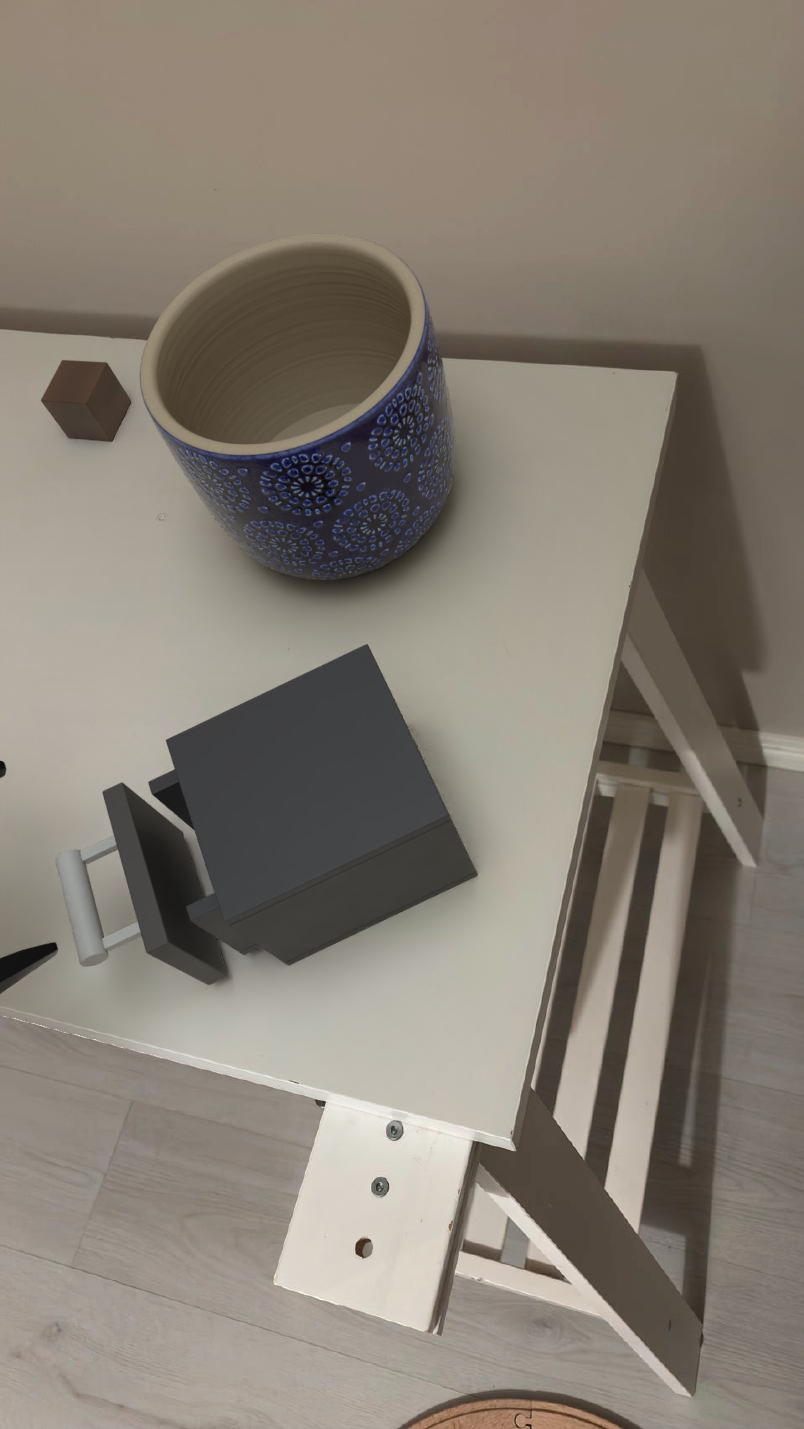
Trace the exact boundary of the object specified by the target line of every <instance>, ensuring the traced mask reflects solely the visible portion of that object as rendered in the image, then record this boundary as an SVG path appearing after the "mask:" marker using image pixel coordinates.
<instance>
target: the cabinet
mask: <svg viewBox="0 0 804 1429" xmlns="http://www.w3.org/2000/svg"><path fill="white" fill-rule="evenodd" d="M409 728H410V727H409V726H408V724H407V722H406V720H405V718H404V716H403V714H402V712H401V709H400V708H399V705H398V703H397V701H396V699H395V697H394V695H393V693H392V691H391V689H390V686H389V684H388V682H387V681H386V678H385V676H384V674H383V672H382V670H381V668H380V666H379V664H378V662H377V660H376V658H375V656H374V654H373V651H372V649H371V648H370V646H369V644H368V643H365V644H363V645H361V646H360V647H357V648H354V649H353V650H351V651H349V652H347V653H345V654H342V655H340V656H338V657H337V658H334V659H332V660H331V661H328V662H326V663H324V664H322V665H319V666H317V667H315V668H313V669H311V670H309V671H306V672H305V673H303V674H301V675H298V676H296V677H294V678H292V679H289V680H288V681H285V682H284V683H281V684H280V685H277V686H275V687H274V688H272V689H269V690H267V691H265V692H263V693H261V694H259V695H256V696H254V697H253V698H250V699H248V700H246V701H244V702H242V703H240V704H238V705H236V706H233V707H232V708H229V709H227V710H224V711H223V712H221V713H219V714H217V715H215V716H212V717H210V718H209V719H207V720H205V721H202V722H200V723H197V724H196V725H194V726H192V727H189V728H188V729H185V730H183V731H181V732H179V733H177V734H175V735H172V736H171V737H169V738H166V739H165V743H166V746H167V750H168V753H169V755H170V758H171V759H170V760H171V762H172V764H173V768H174V769H175V771H176V774H177V778H178V781H179V784H180V787H181V790H182V793H183V796H184V799H185V802H186V805H187V809H188V812H189V815H190V818H191V821H192V824H193V827H194V830H195V831H194V830H193V831H194V833H195V836H196V839H197V843H198V845H199V849H200V852H201V855H202V858H203V861H204V865H205V867H206V870H207V873H208V876H209V880H210V883H211V886H212V889H213V893H215V895H216V899H217V902H218V905H219V908H220V911H221V914H222V917H223V920H224V922H225V923H227V924H228V925H230V926H231V927H233V928H234V929H236V930H237V931H238V932H240V933H241V934H243V935H244V936H246V937H247V938H249V939H250V940H251V941H253V942H254V943H256V944H257V945H259V946H260V947H261V948H262V949H263V950H264V951H266V952H267V953H269V954H270V955H272V956H273V957H275V958H276V959H277V960H279V961H280V962H282V963H283V964H285V965H286V966H290V965H293V964H295V963H297V962H299V961H301V960H303V959H305V958H307V957H309V956H312V955H314V954H316V953H318V952H321V951H323V950H324V949H326V948H328V947H331V946H333V945H335V944H337V943H339V942H341V941H343V940H345V939H347V938H349V937H352V936H353V935H356V934H358V933H360V932H362V931H364V930H367V929H369V928H370V927H373V926H375V925H377V924H379V923H381V922H383V921H385V920H387V919H389V918H391V917H394V916H396V915H398V914H400V913H402V912H405V911H406V910H408V909H411V908H413V907H415V906H417V905H419V904H421V903H423V902H425V901H427V900H430V899H432V898H433V897H436V896H437V895H440V894H442V893H444V892H446V891H449V890H450V889H452V888H455V887H456V886H459V885H461V884H463V883H465V882H467V881H469V880H471V879H474V878H476V877H477V876H479V874H478V872H477V869H476V868H475V866H474V863H473V860H472V859H471V856H470V854H469V852H468V851H467V848H466V846H465V844H464V842H463V839H462V838H461V836H460V833H459V832H458V829H457V827H456V825H455V823H454V821H453V819H452V817H451V815H450V812H449V811H448V808H447V806H446V804H445V801H444V800H443V798H442V795H441V794H440V791H439V789H438V787H437V785H436V783H435V780H434V778H433V777H432V774H431V772H430V771H429V768H428V766H427V764H426V762H425V760H424V758H423V756H422V754H421V751H420V749H419V748H418V745H417V743H416V741H415V739H414V737H413V734H412V732H411V730H410V729H409Z"/></svg>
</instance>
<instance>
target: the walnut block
mask: <svg viewBox="0 0 804 1429" xmlns="http://www.w3.org/2000/svg"><path fill="white" fill-rule="evenodd" d="M40 402H41V403H42V405H43V406H44V407H45V408H46V410H47V411H48V413H49V415H51V417H52V418H53V420H54V421H55V422H56V423H57V425H58V426H59V427H60V429H61V430H62V431H63V433H64V434H65V436H66V437H67V438H70V439H80V440H81V439H83V440H94V441H105V442H106V441H107V442H112V441H113V440H114V437H115V435H116V434H117V432H118V429H119V428H120V426H121V424H122V421H123V420H124V417H125V416H126V414H127V411H128V409H129V407H130V405H131V403H132V400H131V398H130V396H129V395H128V393H127V392H126V390H125V388H124V387H123V385H122V383H121V382H120V380H119V379H118V377H117V376H116V374H115V372H114V370H113V369H112V367H111V366H110V365H109V363H108V362H106V361H90V360H89V361H88V360H70V359H62V360H61V361H60V363H59V364H58V366H57V369H56V370H55V372H54V374H53V376H52V378H51V380H50V381H49V383H48V386H47V387H46V388H45V391H44V393H43V395H42V397H41V398H40Z"/></svg>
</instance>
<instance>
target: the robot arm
mask: <svg viewBox="0 0 804 1429" xmlns="http://www.w3.org/2000/svg"><path fill="white" fill-rule="evenodd" d="M6 774H7V766H6V762H5V761H4V760H0V779H1V778H4V777H5V776H6ZM58 951H59V947H58V944H57V942H55V941H52V942H47V943H43V944H39V945H35V946H31V947H27V948H24V949H20V950H17V951H15V952H12V953H10V954H6V955H4V956H2V957H0V995H1V994H3V993H4V992H5V991H7V990H9V988H10V989H11V987H13V986H14V985H15V984H17V983H18V982H20V981H21V980H23V979H24V978H25V977H27V976H28V975H30V974H31V973H33V972H34V971H35V970H37V969H39V967H42V966H43V965H44V964H46V963H47V962H48V961H50V960H51V959H52V958H54V957H55V956H56V955H57V954H58Z"/></svg>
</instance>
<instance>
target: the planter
mask: <svg viewBox="0 0 804 1429" xmlns="http://www.w3.org/2000/svg"><path fill="white" fill-rule="evenodd" d="M141 355H142V356H141V360H140V366H139V387H140V393H141V397H142V400H143V404H144V406H145V408H146V410H147V412H148V414H149V417H150V418H151V420H152V422H153V424H154V426H155V428H156V430H157V432H158V433H159V435H160V437H161V439H162V440H163V442H164V443H165V445H166V448H168V450H169V452H170V453H171V455H172V457H173V458H174V459H175V461H176V464H177V465H178V467H179V468H180V470H181V471H182V473H183V474H184V477H185V478H186V479H187V481H188V482H189V484H190V485H191V487H192V488H193V489H194V491H195V493H196V494H197V496H198V497H199V498H200V500H201V502H202V503H203V505H204V506H205V507H206V509H207V510H208V512H209V513H210V514H211V515H212V517H213V518H214V520H215V521H216V522H217V524H218V525H219V526H220V527H221V528H222V529H223V531H224V532H225V533H226V534H227V535H228V536H229V538H230V539H231V540H232V541H233V543H235V545H236V546H238V547H239V548H240V549H241V550H242V551H243V552H244V553H245V554H247V555H248V556H250V557H251V558H252V559H253V560H255V561H256V562H258V563H259V564H261V565H263V566H264V567H266V568H269V569H270V570H272V571H275V572H278V573H280V574H285V575H288V576H291V577H294V578H300V579H304V580H314V581H315V580H316V581H331V580H342V579H349V578H353V577H359V576H361V575H364V574H368V573H370V572H373V571H376V570H378V569H380V568H382V567H384V566H386V565H387V564H390V563H391V562H393V561H395V560H396V559H398V558H399V557H401V556H402V555H404V554H405V553H406V552H407V551H409V550H410V549H411V548H412V547H414V546H415V544H416V543H418V542H419V541H420V540H421V538H423V537H424V535H425V534H426V533H427V532H428V531H429V530H430V528H431V527H432V526H433V524H434V523H435V522H436V520H437V519H438V517H439V515H440V513H441V511H442V509H443V508H444V505H445V503H446V502H447V499H448V497H449V494H450V492H451V488H452V486H453V481H454V476H455V468H456V459H457V458H456V457H457V446H456V445H457V444H456V436H455V435H456V434H455V423H454V416H453V409H452V402H451V397H450V391H449V388H448V382H447V378H446V377H447V376H446V372H445V366H444V363H443V357H442V354H441V349H440V346H439V341H438V337H437V332H436V329H435V325H434V321H433V317H432V313H431V310H430V307H429V305H428V301H427V298H426V295H425V291H424V289H423V286H422V284H421V282H420V280H419V279H418V277H417V275H416V274H415V272H414V271H413V269H412V268H411V267H410V266H409V265H408V263H406V262H405V260H403V259H402V258H401V257H400V256H398V255H397V254H396V253H394V252H393V251H391V250H390V249H388V248H386V247H384V246H382V245H380V244H378V243H376V242H373V241H371V240H368V239H364V238H362V237H358V236H357V237H356V236H353V235H348V234H340V233H330V232H329V233H328V232H327V233H323V232H320V233H315V232H314V233H301V234H295V235H289V236H283V237H280V238H275V239H272V240H268V241H265V242H261V243H259V244H255V245H253V246H250V247H247V248H245V249H242V250H240V251H238V252H237V253H235V254H232V255H230V256H229V257H227V258H224V259H223V260H221V261H219V262H218V263H216V264H215V265H213V266H211V267H210V268H208V269H206V270H205V271H204V272H202V273H201V274H200V275H198V276H197V277H196V278H194V279H193V280H192V281H191V282H190V283H189V284H188V285H187V286H185V287H184V288H183V289H182V290H181V291H180V292H179V293H178V294H177V295H176V296H175V297H174V298H173V300H171V302H169V304H168V305H167V306H166V307H165V309H164V310H163V312H162V313H161V315H160V316H159V317H158V319H157V321H156V322H155V324H154V326H153V327H152V330H151V331H150V333H149V336H148V338H147V340H146V343H145V346H144V349H143V352H142V354H141Z"/></svg>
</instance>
